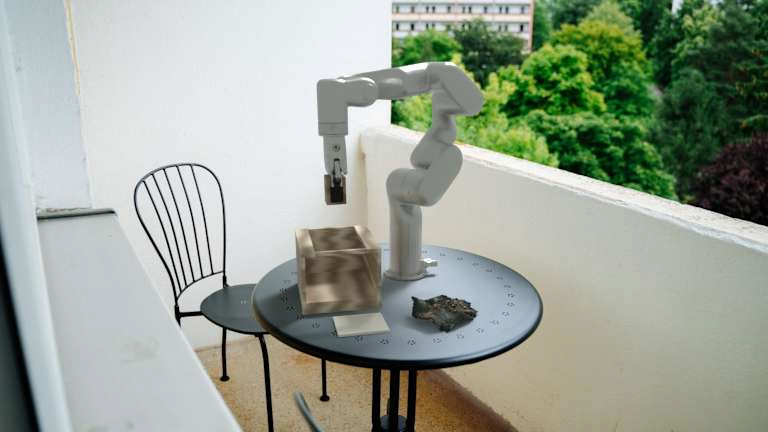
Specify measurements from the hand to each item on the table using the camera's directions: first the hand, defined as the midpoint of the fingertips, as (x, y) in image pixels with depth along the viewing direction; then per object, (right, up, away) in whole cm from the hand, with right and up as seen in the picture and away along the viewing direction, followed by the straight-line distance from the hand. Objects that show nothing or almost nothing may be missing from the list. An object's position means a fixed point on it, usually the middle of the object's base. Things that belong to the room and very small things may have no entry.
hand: (335, 198), depth 150 cm
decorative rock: (+28, -30, -6) cm, 41 cm away
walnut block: (0, -1, 0) cm, 1 cm away
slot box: (0, -26, +7) cm, 27 cm away
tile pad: (+7, -31, -12) cm, 34 cm away
